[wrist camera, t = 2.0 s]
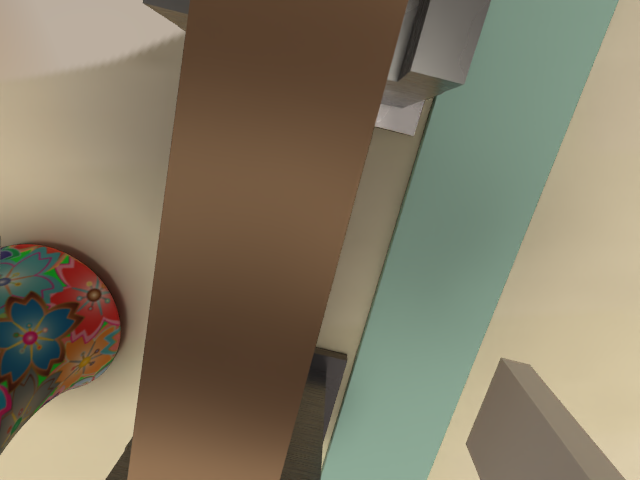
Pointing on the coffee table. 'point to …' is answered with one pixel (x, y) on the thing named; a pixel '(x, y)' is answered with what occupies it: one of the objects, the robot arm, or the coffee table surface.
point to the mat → (461, 232)
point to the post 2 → (310, 423)
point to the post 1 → (408, 54)
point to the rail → (254, 225)
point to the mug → (49, 330)
